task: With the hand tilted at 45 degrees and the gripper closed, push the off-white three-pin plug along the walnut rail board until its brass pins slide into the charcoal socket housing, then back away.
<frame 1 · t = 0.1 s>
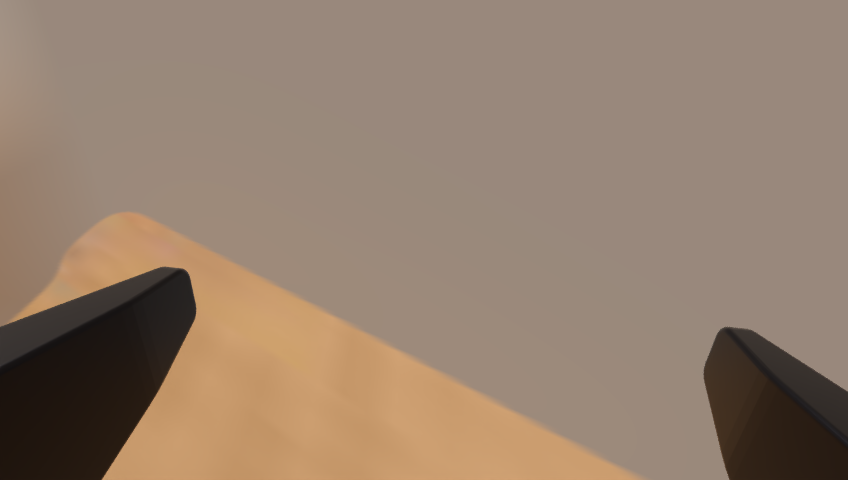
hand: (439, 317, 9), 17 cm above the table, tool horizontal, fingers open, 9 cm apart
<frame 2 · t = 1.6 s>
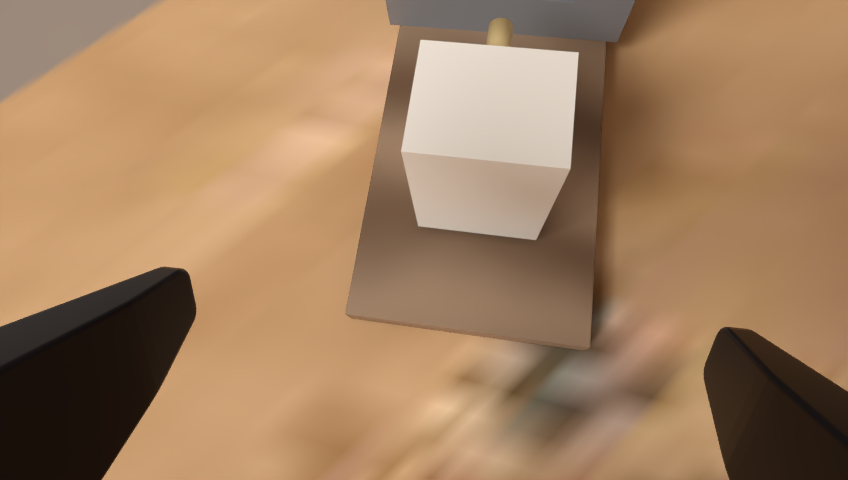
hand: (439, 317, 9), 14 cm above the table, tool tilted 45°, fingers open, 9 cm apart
plug: (489, 124, 20), point 5 cm above the table, slide at 0.0 cm
rail board: (496, 74, 26), on the table
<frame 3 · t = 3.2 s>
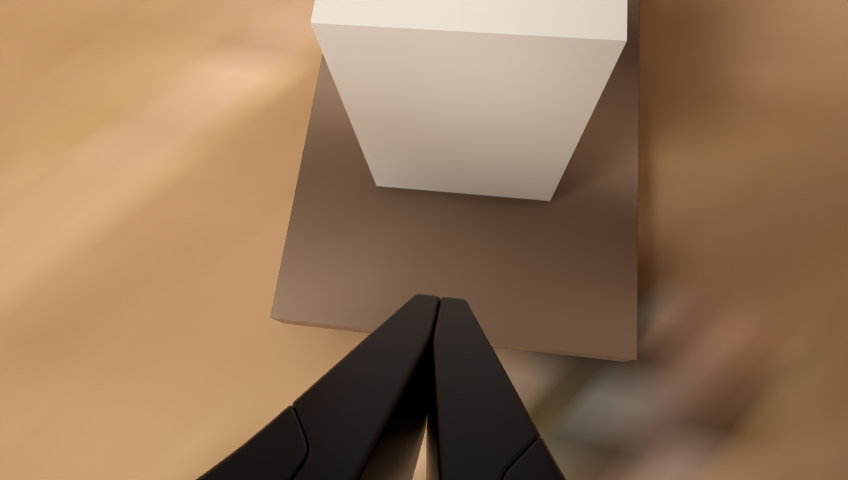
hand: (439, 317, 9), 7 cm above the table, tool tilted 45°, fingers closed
plug: (475, 15, 12), point 5 cm above the table, slide at 0.0 cm
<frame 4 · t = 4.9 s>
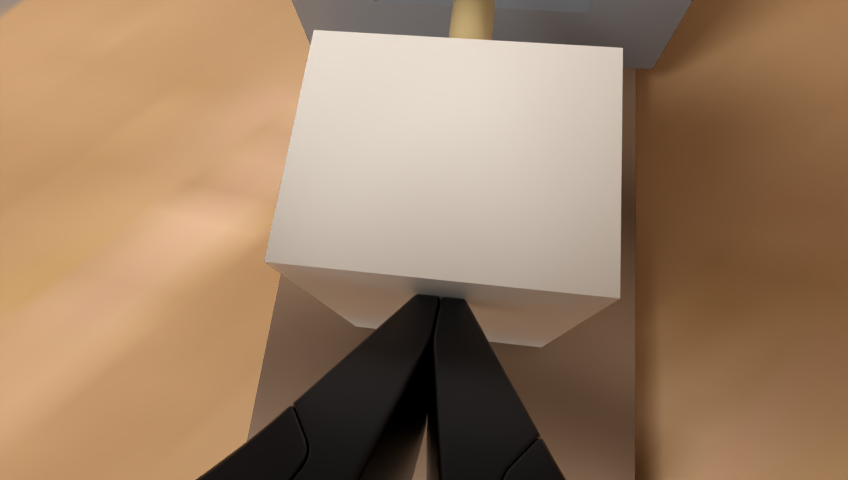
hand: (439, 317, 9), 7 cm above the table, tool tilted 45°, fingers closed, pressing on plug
plug: (458, 173, 11), point 5 cm above the table, slide at 1.4 cm, touching gripper
rail board: (471, 118, 17), on the table
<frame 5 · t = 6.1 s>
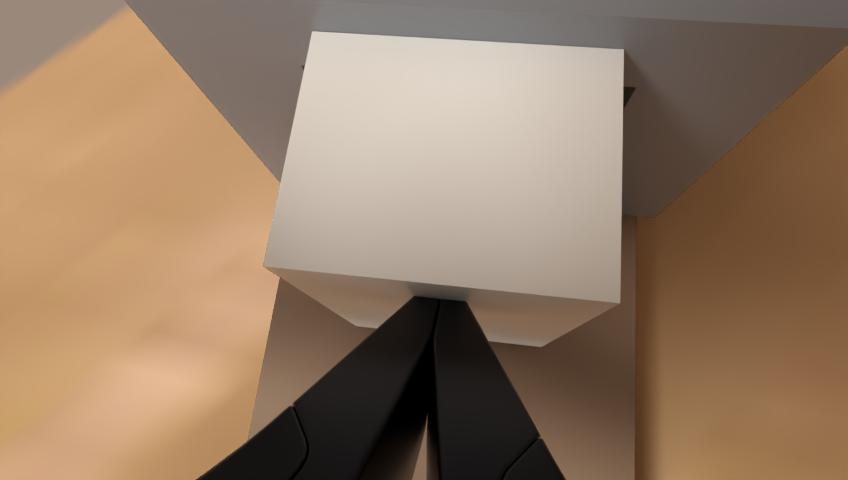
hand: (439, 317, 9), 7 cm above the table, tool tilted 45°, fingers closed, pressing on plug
plug: (458, 174, 11), point 5 cm above the table, slide at 6.4 cm, touching gripper
rail board: (456, 259, 16), on the table
socket housing: (473, 40, 12), on the rail board, point 5 cm above the table
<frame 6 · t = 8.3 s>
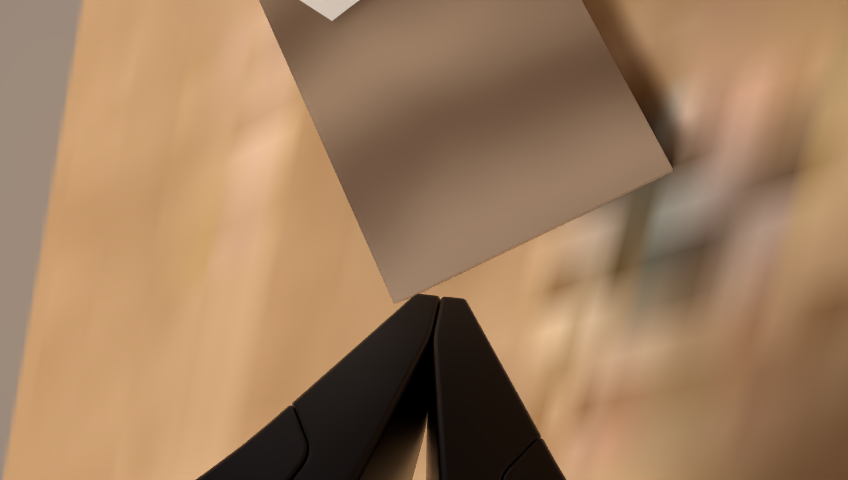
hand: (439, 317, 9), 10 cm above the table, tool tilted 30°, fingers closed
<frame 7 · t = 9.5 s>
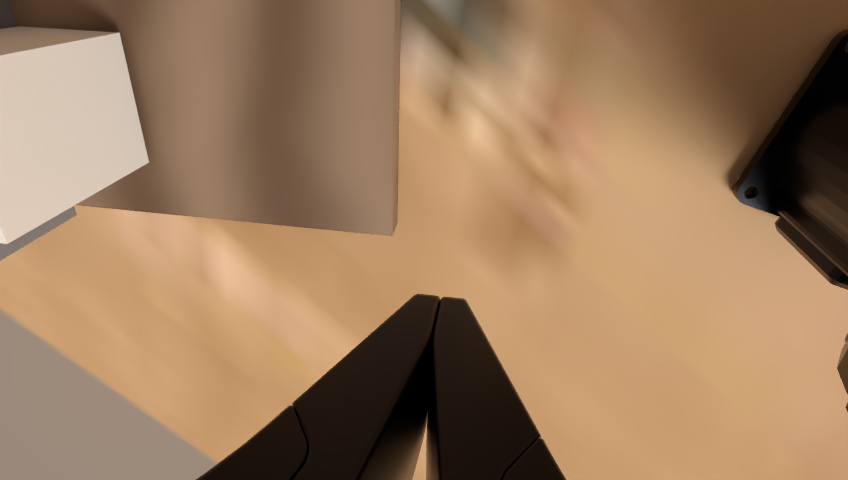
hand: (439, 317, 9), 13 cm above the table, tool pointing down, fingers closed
rail board: (93, 87, 22), on the table
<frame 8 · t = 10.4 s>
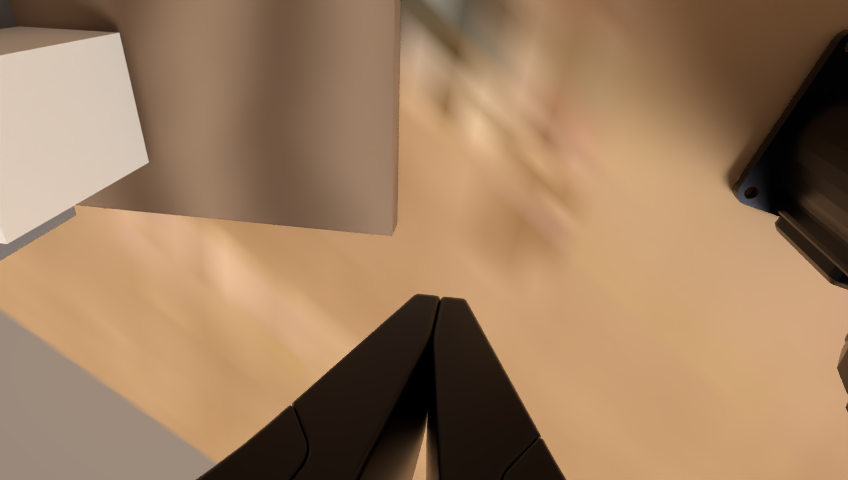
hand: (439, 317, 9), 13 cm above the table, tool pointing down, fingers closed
rail board: (92, 87, 22), on the table
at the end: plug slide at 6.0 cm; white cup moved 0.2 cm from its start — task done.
